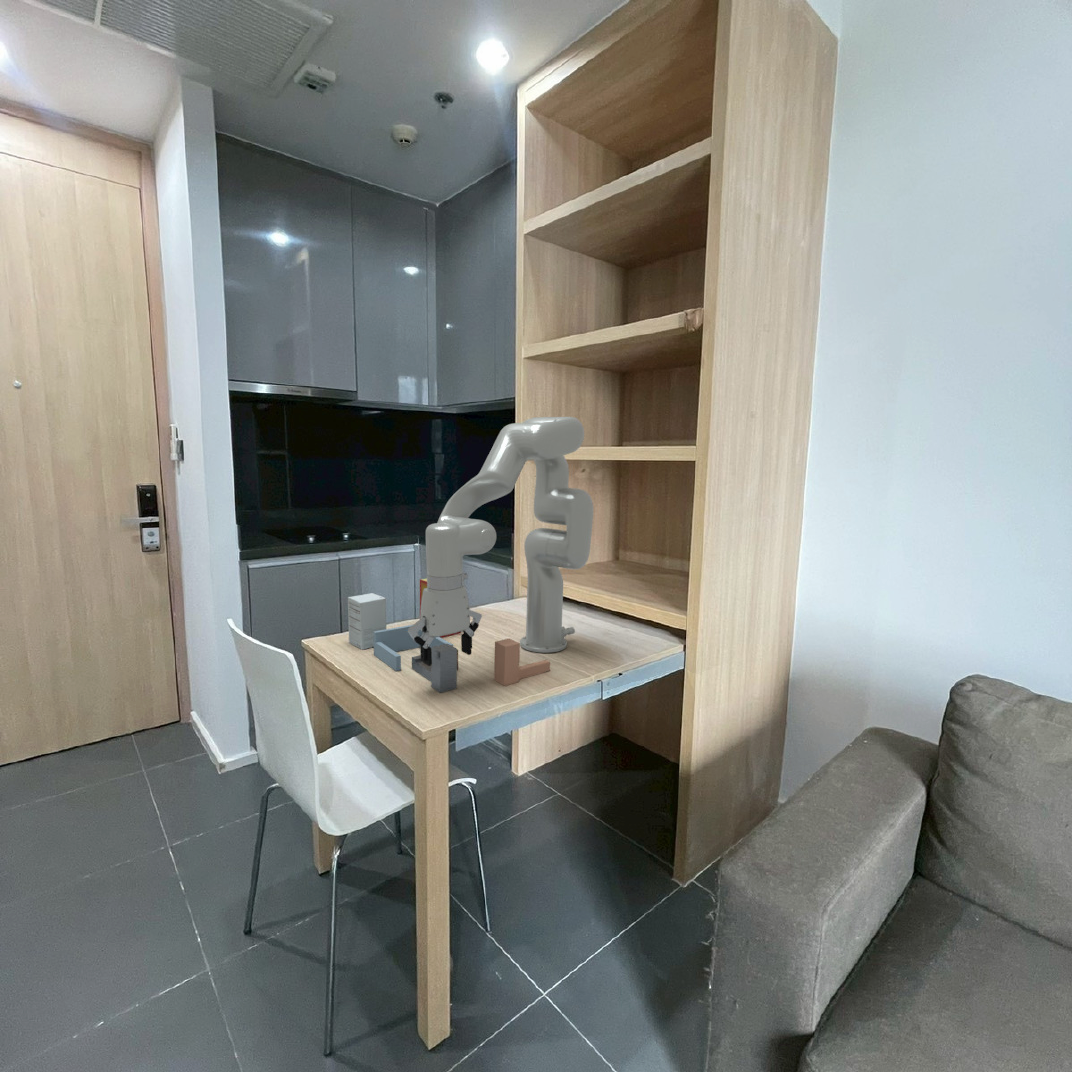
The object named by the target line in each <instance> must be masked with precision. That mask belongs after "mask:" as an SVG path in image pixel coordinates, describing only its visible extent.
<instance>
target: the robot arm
mask: <svg viewBox="0 0 1072 1072" xmlns="http://www.w3.org/2000/svg"><path fill="white" fill-rule="evenodd" d="M584 429H585V428H584V426H583V424H582V422H581V421H580V420H579V419H578V418H577V417H574V416H573V417H572V416H543V417H542V416H540V417H538V416H537V417H531V418H528V419H526V420H524V421H523V422H518V423H515V422H514V423H509V424H507V425H505V426H503V428H502V429H501V430H500V431H499V433H498V435H497V437H496V439H495V441H494V443H493V444H492V445H493V446H492V448H491V450H490V451H489V454H488V455H487V457H486V459H485V461H484V463H483V465H482V467H481V469H480V471H479V472H478V474H477V475H475V476H474V477H472V478H470V480H468V481H467V482H466V483H465V484H464V485H462V486H461V487H460V488H459V489H458V490H457V491H456V492H455V493H453V495H452V496H451V497H450V498H449V499H448V501H447V502H446V504H445V506H444V508H443V509H442V511H441V514H440V515H439V518H438V520H437V523H431V524H429V525H428V526H427V527H426V528H425V558H426V560H425V561H426V562H425V563H426V579H427V588H425V589H424V590H423V595H422V601H421V612H420V611H419V620H418V621H416V622H415V623H414V625H413V624H411V625H412V626H411V627H410V628H409V629H408V632H409V634H410V636H411V637H412V639H413V640H414V641H415V642H416V643H418V644H419V645H420V647H419V648H420V650H419V651H420V655H421V660H422V662H423V663H425V664H426V665H428V666H431V665H432V651H431V647H429V645H430V644H431V642H432V640H433V639H434V638H435V637H441V636H445V635H449V634H453V633H457V632H461V635H460V638H461V639H460V641H461V642H460V643H461V644H460V645H461V646H460V647H461V652H462V653H464V654H466V655H468V656H471V655H472V649H473V637H474V636H475V632H476V631H477V629H478V628H479V626H480V625H479V624H480V622H481V619H482V617H483V615H482V613H480V612H478V611H474V610H471V609H470V602H469V596H468V591H467V587H466V585H464V582H465V580H467V579H468V577H469V576H468V573H467V572H464V568H463V566H464V564H463V560H464V559H463V557H464V556H471V555H483V554H485V553H487V552H490V550H492V549H493V547H494V546H495V544H496V541H497V532H496V529H495V527H494V526H493V525H492V524H491V523H490V522H488V521H486V520H483V519H476V518H470V516H471V515H472V514H473V513H474V512H475V511H476V510H477V509H478V508H480V507H482V505H484V504H487V503H489V502H491V501H495V500H497V499H499V498H502V497H504V496H507V495H508V494H510V493H511V492H512V491H513V489H514V487H515V486H516V483H517V481H518V480H519V477H520V474H521V473H522V471H523V469H524V467H525V464H526V462H527V461H530V460H531V461H534V465H535V469H536V471H535V472H536V473H535V477H536V478H535V487H534V498H533V499H534V500H533V514H534V517H535V518H536V519H537V521H539V522H542V523H546V524H553V525H560V526H566V530H562V529H555V528H547V527H540V528H539V527H538V528H535V529H533V530H531V531H530V532H529V533H528V534H527V535H526V537H525V540H524V554H525V555H524V557H525V561H526V569H527V589H526V591H527V592H526V620H525V621H526V622H525V623H526V624H525V626H526V627H525V636H523V637H522V638H520V641H519V643H520V648H523V649H524V650H527V651H530V652H533V653H539V654H541V653H542V654H543V653H544V654H548V653H558V652H560V651H561V652H562V651H563V650H565V649H567V646H568V641H567V640H566V639H565V637H567V635H568V636H570V635H573V634H575V633H576V630H575V628H574V627H573V626H571V627H566V628H565V626H563V604H564V603H563V601H564V600H563V599H564V578H563V575H562V572H561V570H560V568H562V569H569V570H580V569H581V568H583V567H585V565H586V564H587V562H588V560H589V556H590V553H591V543H592V531H593V523H594V522H593V521H594V504H593V503H594V502H593V499H592V497H591V495H590V494H589V493H588V492H587V491H586V490H584V489H581V488H571V487H569V481H570V480H569V475H570V470H569V469H570V468H569V463H568V461H567V459H566V458H565V456H567V455H569V454H572V453H574V452H576V451H578V450H579V449H580V448H581V446H582V444H583V442H584V439H585V430H584ZM471 617H472V621H471ZM420 629H421V632H423V634H422V636H421V637H419V635H418V631H419V630H420Z"/></svg>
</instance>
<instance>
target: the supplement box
mask: <svg viewBox="0 0 1072 1072" xmlns="http://www.w3.org/2000/svg"><path fill="white" fill-rule="evenodd" d="M347 611H348V612H347V613H348V615H347V616H348V617H347V618H348V621H347V622H348V642H349V644H350V645H352V646H354V647H356V648H358V649H359V650H362V651H363V650H366V649H370V648H374V631H379V630H385V629H387V598H386V597H383V596H381V595H379V594H375V593H373V592H370V593H364V594H360V595H353V596H348V597H347Z"/></svg>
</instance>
